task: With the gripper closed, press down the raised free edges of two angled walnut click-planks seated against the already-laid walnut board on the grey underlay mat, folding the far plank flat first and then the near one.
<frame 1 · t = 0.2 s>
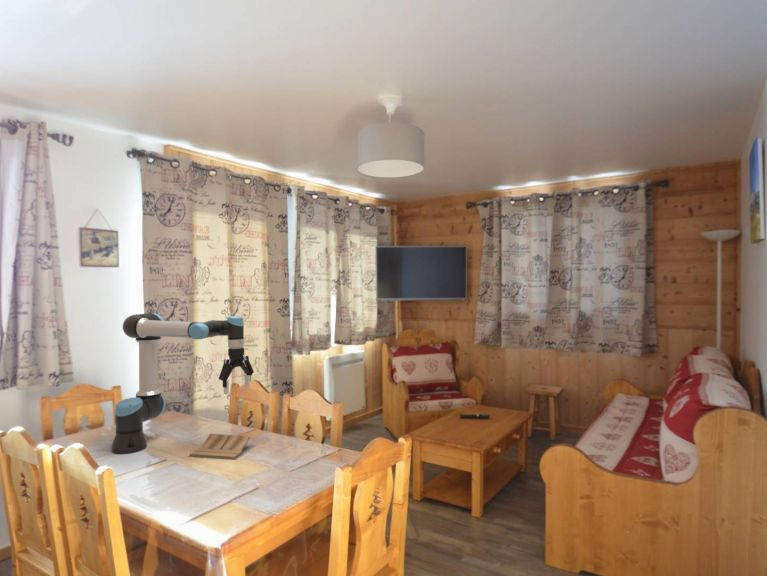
hand: (237, 391, 237), 27 cm above the table, fingers open, 13 cm apart
underlay: (222, 452, 227), on the table
plank far: (236, 443, 229), point 4 cm above the table, hinge at 28.0°
plank near: (215, 442, 231), point 4 cm above the table, hinge at 28.0°
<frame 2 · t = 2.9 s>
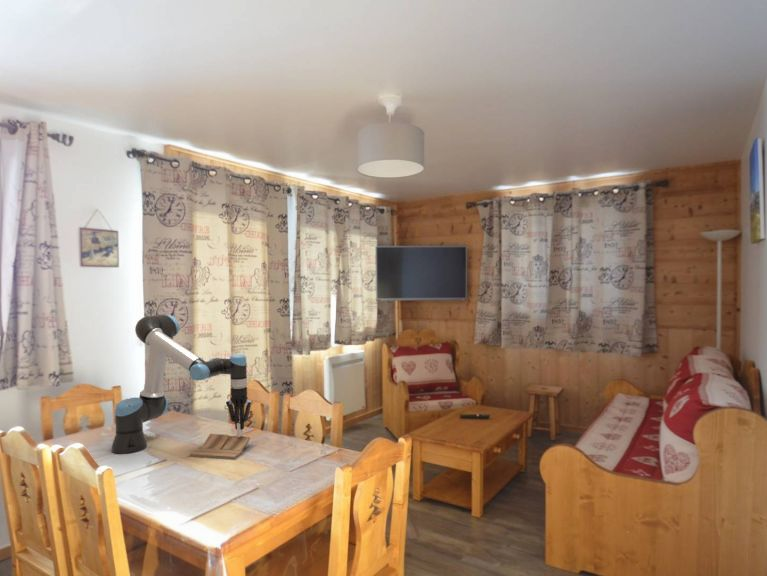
hand: (239, 435, 233), 6 cm above the table, fingers closed
plank far: (236, 443, 229), point 3 cm above the table, hinge at 24.3°, touching gripper
everything else where it was.
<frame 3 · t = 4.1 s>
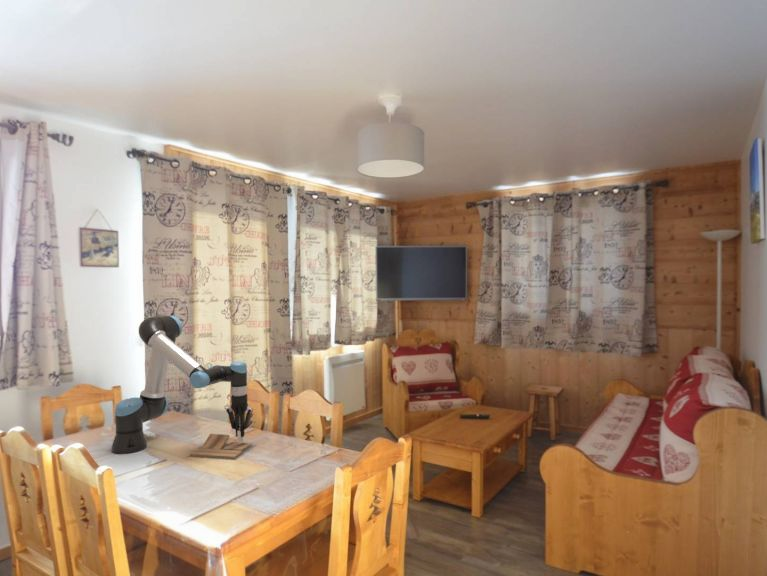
hand: (240, 443, 233), 3 cm above the table, fingers closed
plank far: (236, 447, 230), point 2 cm above the table, hinge at 0.6°, touching gripper
everything else where it was.
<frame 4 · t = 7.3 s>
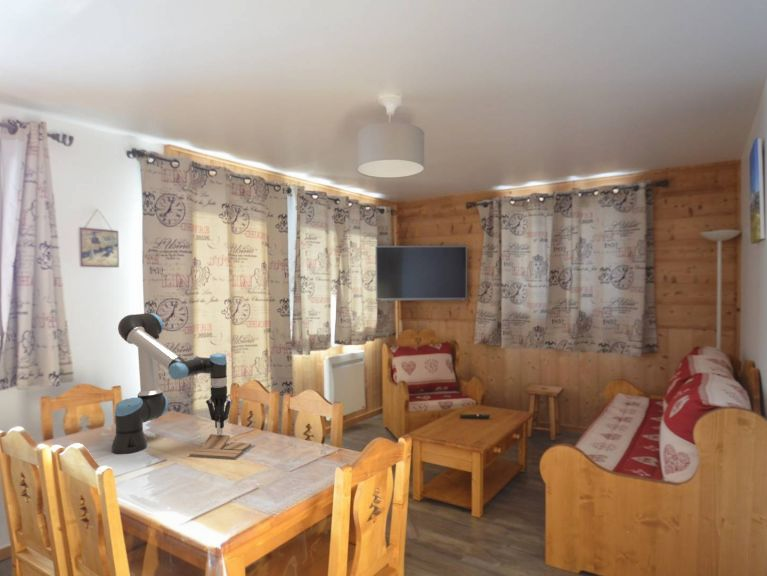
hand: (219, 434, 235), 6 cm above the table, fingers closed
plank far: (236, 447, 230), point 2 cm above the table, hinge at 0.4°
plank near: (215, 442, 231), point 4 cm above the table, hinge at 25.6°, touching gripper
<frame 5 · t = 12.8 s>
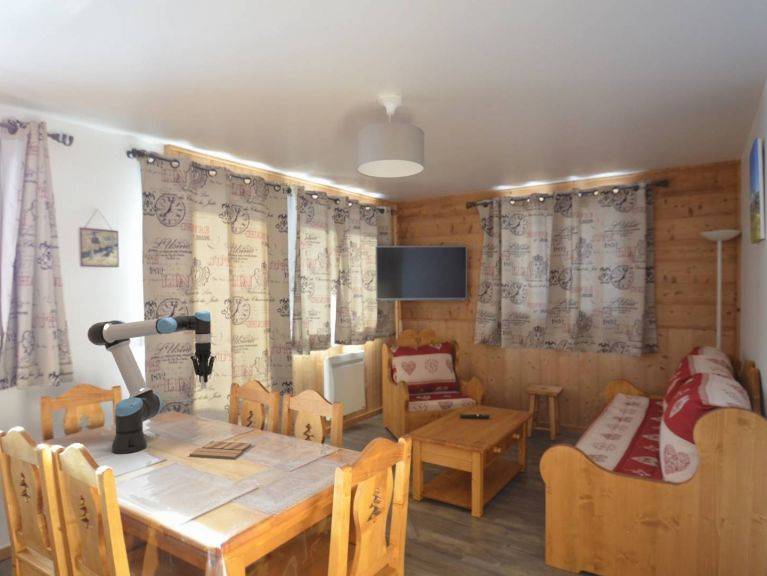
hand: (203, 388, 244), 26 cm above the table, fingers closed
plank near: (216, 445, 232), point 2 cm above the table, hinge at -0.1°
everything else where it was.
at the end: plank far at +0° (first picture: +28°); plank near at +0° (first picture: +28°) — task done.
